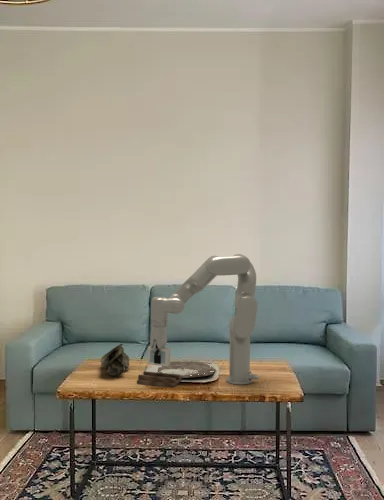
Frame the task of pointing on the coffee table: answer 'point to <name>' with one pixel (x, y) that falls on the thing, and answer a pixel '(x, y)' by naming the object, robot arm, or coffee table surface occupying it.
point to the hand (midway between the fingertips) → (158, 362)
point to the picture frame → (164, 356)
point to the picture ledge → (159, 379)
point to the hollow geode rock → (115, 361)
